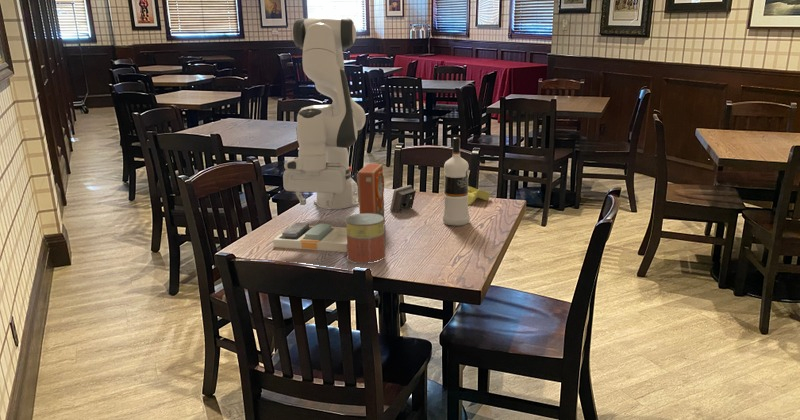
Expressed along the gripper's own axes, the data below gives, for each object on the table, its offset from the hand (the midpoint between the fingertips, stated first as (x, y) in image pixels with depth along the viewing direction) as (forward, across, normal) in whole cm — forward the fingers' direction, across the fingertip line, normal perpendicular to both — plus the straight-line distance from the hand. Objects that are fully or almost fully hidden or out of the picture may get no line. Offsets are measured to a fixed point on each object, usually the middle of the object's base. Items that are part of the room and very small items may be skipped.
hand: (316, 205), depth 191 cm
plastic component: (+13, -39, -61) cm, 73 cm away
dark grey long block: (+12, +8, 0) cm, 14 cm away
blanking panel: (+12, 0, 0) cm, 12 cm away
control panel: (+13, -13, -16) cm, 25 cm away
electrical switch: (+13, -18, -40) cm, 46 cm away
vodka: (+13, -40, -28) cm, 51 cm away
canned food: (+13, -19, +10) cm, 25 cm away
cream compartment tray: (+12, 0, 0) cm, 13 cm away
